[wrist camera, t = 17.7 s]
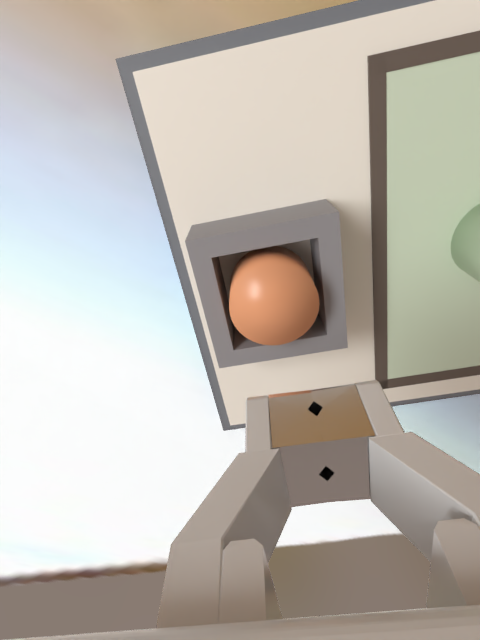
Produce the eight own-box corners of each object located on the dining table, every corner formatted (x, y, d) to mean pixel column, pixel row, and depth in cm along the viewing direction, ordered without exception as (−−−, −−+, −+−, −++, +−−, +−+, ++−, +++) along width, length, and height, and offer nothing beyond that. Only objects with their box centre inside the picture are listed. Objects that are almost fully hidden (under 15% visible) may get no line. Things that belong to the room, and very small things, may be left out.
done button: (305, 238, 15) (314, 256, 13) (313, 311, 17) (323, 337, 15) (222, 254, 15) (220, 273, 13) (238, 324, 17) (238, 351, 15)
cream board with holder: (742, -86, 12) (914, -156, 9) (596, 363, 20) (659, 406, 17) (123, 62, 14) (90, 47, 11) (224, 418, 22) (221, 466, 19)
